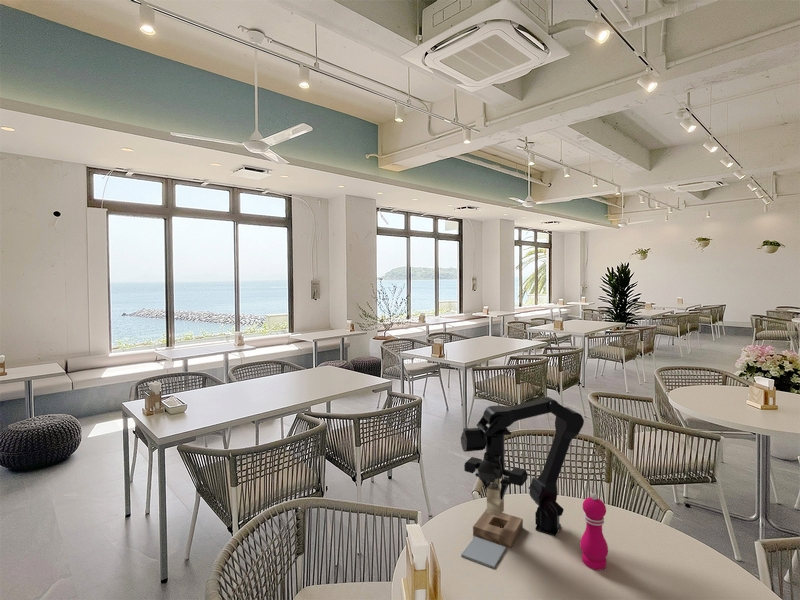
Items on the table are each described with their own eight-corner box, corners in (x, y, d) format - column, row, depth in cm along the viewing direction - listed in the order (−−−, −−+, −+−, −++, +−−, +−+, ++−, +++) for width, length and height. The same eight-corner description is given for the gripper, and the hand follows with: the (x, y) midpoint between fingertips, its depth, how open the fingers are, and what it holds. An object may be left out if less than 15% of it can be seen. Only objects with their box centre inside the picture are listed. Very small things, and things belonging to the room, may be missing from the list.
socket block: (522, 527, 137) (522, 518, 137) (510, 548, 127) (510, 538, 127) (487, 516, 144) (487, 508, 144) (473, 535, 134) (473, 526, 134)
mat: (506, 548, 127) (506, 546, 127) (494, 568, 119) (494, 566, 119) (474, 538, 132) (474, 536, 132) (461, 556, 124) (461, 554, 124)
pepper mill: (602, 554, 124) (603, 487, 122) (612, 571, 116) (613, 500, 115) (576, 553, 124) (576, 486, 123) (584, 570, 117) (585, 500, 116)
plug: (503, 510, 134) (503, 482, 134) (499, 516, 131) (498, 488, 130) (491, 507, 136) (491, 479, 136) (486, 513, 133) (486, 485, 132)
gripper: (456, 450, 131) (456, 500, 132) (516, 465, 120) (515, 518, 121) (471, 439, 140) (471, 485, 141) (528, 451, 130) (528, 501, 131)
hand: (495, 497), depth 133 cm, fingers closed on plug, 4 cm apart
